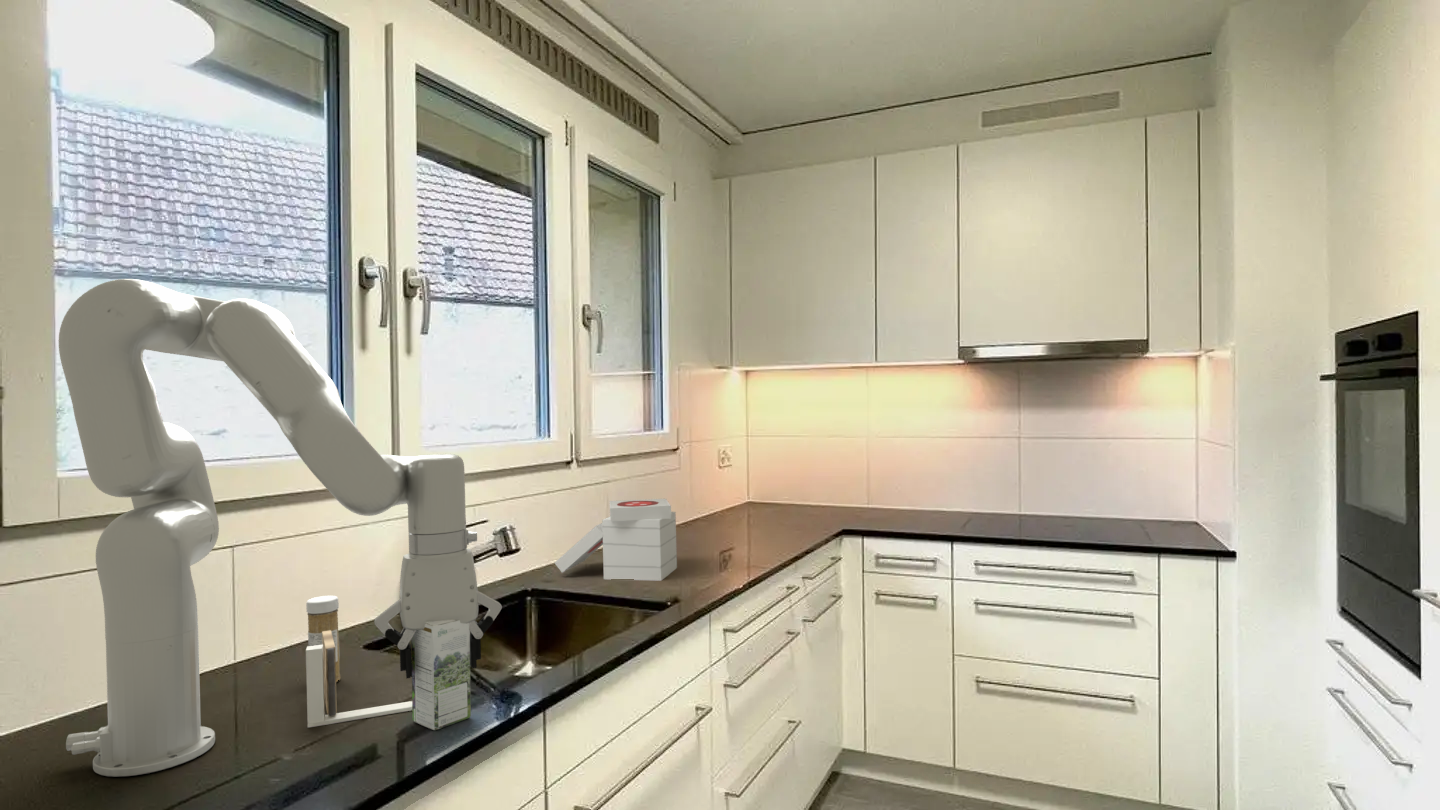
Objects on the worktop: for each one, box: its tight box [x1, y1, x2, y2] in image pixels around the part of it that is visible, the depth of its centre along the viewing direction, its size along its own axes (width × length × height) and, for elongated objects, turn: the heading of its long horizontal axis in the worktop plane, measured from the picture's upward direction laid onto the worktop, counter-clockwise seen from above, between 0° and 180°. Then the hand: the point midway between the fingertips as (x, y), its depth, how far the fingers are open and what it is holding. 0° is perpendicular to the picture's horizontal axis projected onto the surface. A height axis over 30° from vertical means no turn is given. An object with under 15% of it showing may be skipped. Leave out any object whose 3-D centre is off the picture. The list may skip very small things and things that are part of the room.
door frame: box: [305, 644, 412, 728], centre depth 111 cm, size 16×2×10 cm, turn 114°
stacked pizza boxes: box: [554, 498, 678, 582], centre depth 202 cm, size 19×30×18 cm, turn 78°
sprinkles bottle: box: [306, 595, 341, 683], centre depth 125 cm, size 5×5×13 cm
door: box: [322, 630, 338, 716], centre depth 114 cm, size 11×1×9 cm, turn 30°
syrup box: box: [410, 620, 472, 731], centre depth 109 cm, size 6×6×14 cm
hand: (441, 669), depth 109 cm, fingers open, 7 cm apart
